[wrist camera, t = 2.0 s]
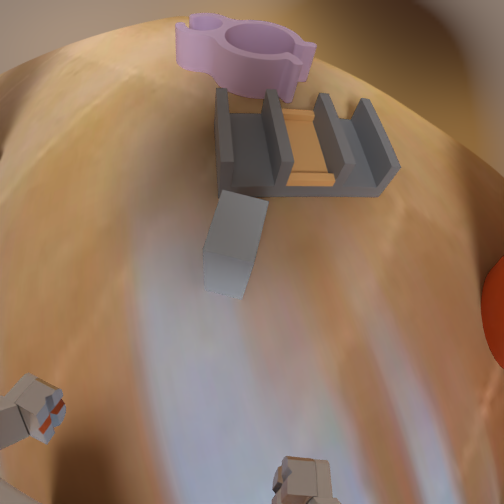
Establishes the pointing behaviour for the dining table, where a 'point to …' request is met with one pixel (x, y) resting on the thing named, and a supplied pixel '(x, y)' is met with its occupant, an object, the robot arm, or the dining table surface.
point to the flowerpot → (494, 310)
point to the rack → (301, 150)
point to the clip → (244, 54)
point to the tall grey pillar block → (233, 243)
